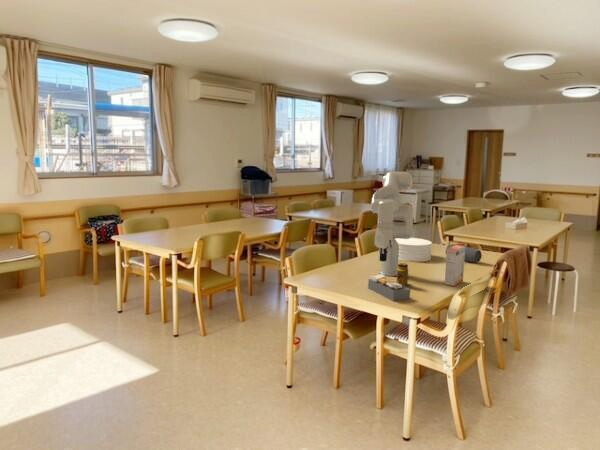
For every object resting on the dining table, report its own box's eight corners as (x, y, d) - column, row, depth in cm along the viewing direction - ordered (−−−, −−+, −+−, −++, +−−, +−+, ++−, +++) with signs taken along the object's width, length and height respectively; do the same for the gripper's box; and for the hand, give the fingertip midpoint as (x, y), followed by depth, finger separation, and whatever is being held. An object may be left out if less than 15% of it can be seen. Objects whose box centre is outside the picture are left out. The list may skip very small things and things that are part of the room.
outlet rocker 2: (388, 283, 239) (389, 279, 239) (393, 285, 235) (394, 281, 235) (378, 282, 236) (379, 278, 236) (383, 285, 232) (384, 280, 232)
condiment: (393, 285, 253) (394, 264, 251) (400, 282, 259) (401, 261, 257) (405, 287, 248) (406, 266, 246) (412, 284, 254) (413, 263, 253)
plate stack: (435, 256, 328) (436, 240, 327) (423, 263, 305) (424, 246, 303) (398, 251, 343) (399, 236, 341) (384, 257, 320) (385, 241, 318)
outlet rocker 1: (381, 278, 245) (381, 273, 245) (386, 280, 241) (385, 275, 241) (371, 281, 243) (371, 276, 243) (376, 283, 239) (375, 279, 239)
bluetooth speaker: (444, 258, 322) (445, 244, 320) (452, 256, 327) (453, 243, 326) (473, 264, 304) (474, 250, 302) (481, 263, 309) (482, 248, 308)
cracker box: (453, 279, 266) (455, 244, 263) (463, 281, 263) (466, 246, 259) (443, 284, 256) (446, 248, 252) (454, 286, 252) (457, 249, 249)
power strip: (383, 286, 250) (384, 277, 249) (409, 298, 229) (410, 289, 228) (368, 288, 246) (368, 278, 245) (393, 301, 225) (393, 291, 224)
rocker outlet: (396, 287, 233) (397, 282, 233) (401, 289, 229) (402, 285, 229) (386, 286, 230) (387, 281, 230) (391, 288, 226) (392, 284, 226)
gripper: (370, 223, 235) (368, 258, 238) (387, 227, 222) (385, 264, 224) (382, 223, 238) (380, 257, 241) (399, 227, 225) (397, 263, 227)
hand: (382, 260), depth 232 cm, fingers closed
